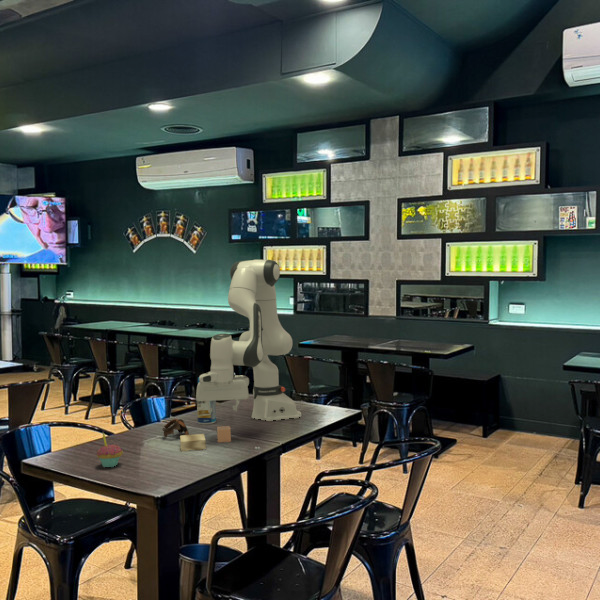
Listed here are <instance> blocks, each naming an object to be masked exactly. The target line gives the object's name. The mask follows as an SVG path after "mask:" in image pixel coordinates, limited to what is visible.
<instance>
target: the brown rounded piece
mask: <svg viewBox="0 0 600 600" xmlns="http://www.w3.org/2000/svg"><path fill="white" fill-rule="evenodd" d="M174 430H175V431H178V433H179V434H180V433H184V435H190V433H189V430H188V427H187V426H186V424H185V421H184V420H183V419H182V418H179V419H178V418H173V419H172V420H169V421H168V422H167V423H166V424H165V425H164V427H163V428H162V431H163V437H165V438H168V437H167V436H168V435H169V436H170V435H171V434H172V435H175V433H174V432H175V431H174Z"/></svg>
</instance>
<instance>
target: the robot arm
mask: <svg viewBox="0 0 600 600" xmlns="http://www.w3.org/2000/svg"><path fill="white" fill-rule="evenodd" d="M280 270H281V269H280V265H279V264H278V262H277V261H276V260H272V259H253V260H239V261H236V262H234V263H233V264H232V265H231V267H230V271H229V275H230V279H231V281H230V285H229V290H228V296H227V301H228V306H229V307H230V308H231V309H232V310H233V311H234V312H235V313H237V314H239V315H241V316H244V317H245V318H248V320H249V330H247V331H244V332H242V333H241V335H240V336H239V339H238V340H234V339H232V335H231V334H229V333H219V334H218V333H217V334H215V335H213V336H212V338H211V339H210V340H211V341H210V351H209V352H210V353H209V357H210V360H211V361H210V362H211V364H210V371H208V372H206V373H202V374H200V375H199V380H200V382H199V383H198V382H197V386H196V395H195V399H197V400H198V401H205V403H206V405H207V407H208V412H212V407H210V406H209V401H215V400H216V401H231V400H232V401H235V405H233V406H232V411H233V412H237V410H238V406H239V404H240V402H241V401H240V400H247V399H248V398H249V388H248V386H249V384H250V378H249V377H248V376H246V375H244V374H242V375H234V374H235V373H234V366H245V367H251V368H252V370H253V371H252V372H253V381H254V382H253V387H252V388H253V389H252V397H253V407H252V412H251V413H252V414H251V418H252V419H254V418H255V419H254V420H258V419H261V420H260V421H265V420H266V422H274V421H273V420H276V421H282V420H281V419H285V420H290V419H289V418H294V419H300V418H301V417H302V412H301V411H300V410H297V405H296V402H295V401H294V400H293V399H292V398H291V397H289V396H288V395H286V393H285V391H286V388H285V387H284V386H282V385H280V384H279V381H280V380H279V369H278V366H277V365H276V364H275V363H273V362H272V361H271V359H270V358H269V356H283V355H287V354H289V353H290V352H291V350H292V348H293V338H292V336H291V335H290V333H288V331H286V329H284V328H283V327H284V326H282V324H281V322H280V320H279V316H278V308H277V306H278V305H277V292H276V286H275V284H276V283H277V282H278V281H279V280H280V276H281V271H280ZM197 400H196V401H197ZM299 417H300V418H299Z"/></svg>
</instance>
